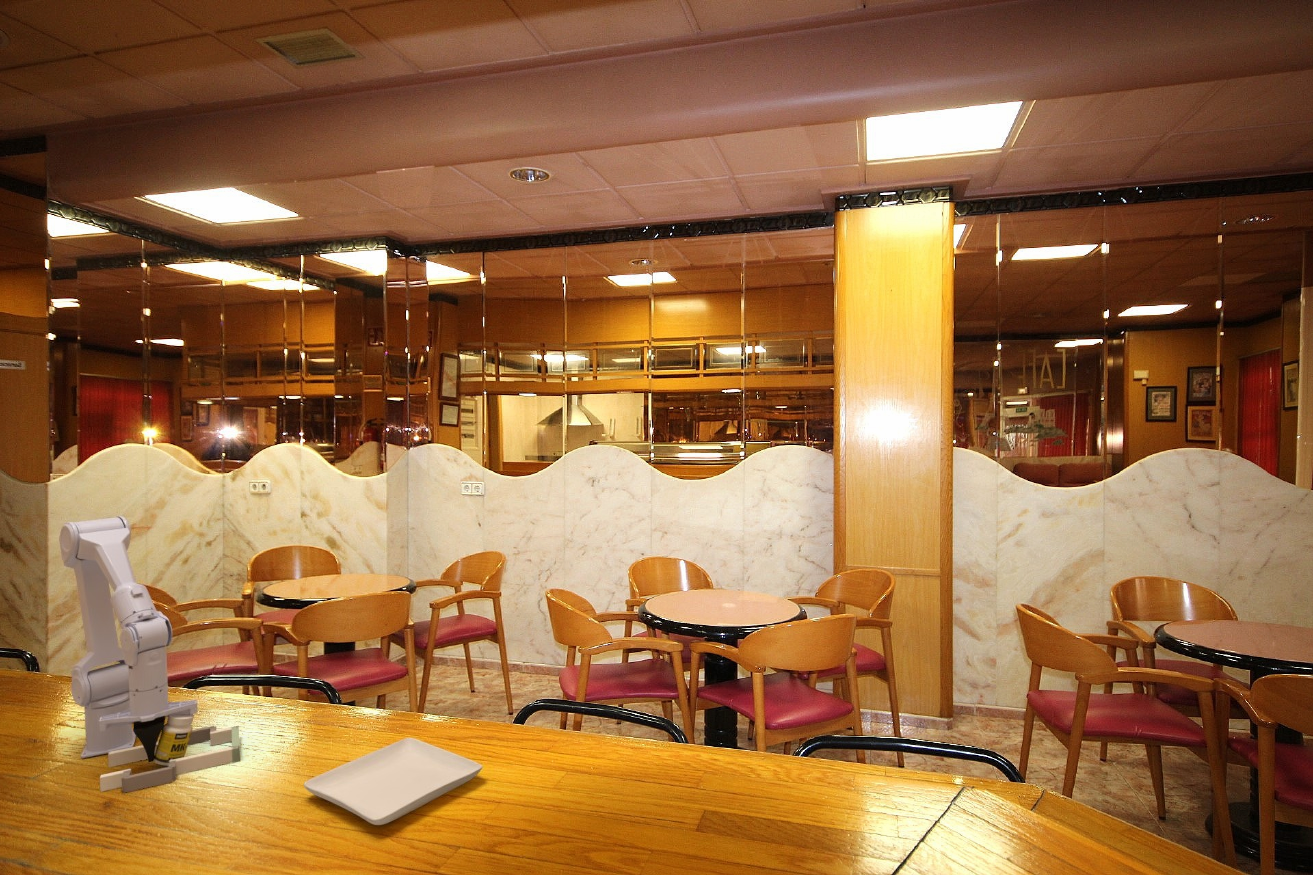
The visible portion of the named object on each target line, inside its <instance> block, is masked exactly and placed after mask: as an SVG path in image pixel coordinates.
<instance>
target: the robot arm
mask: <svg viewBox="0 0 1313 875" xmlns="http://www.w3.org/2000/svg"><path fill="white" fill-rule="evenodd" d="M59 533H60V534H59V538H58V540H59V547H60V553H61V559H62V560H61V561H63V566H64V567H66V568H70V569H73V572H74V575H75V579H76V580H75V581H76V587H77V592H78V598H79V606H80V612H81V617H82V618H81V619H82V626H83V631H84V639H85V645H86V651H87V653H86V654H85V655H84V656H83V657H81V659H79V661H78V662H77V663H75V665H74V666H73V667H72V668H71V685H70V690H71V695H72V699H73V701H74V702H75V704H76V705H78V706H79V707H81V708H83V707H84V709H83V710H84V728H85V729H84V730H85V746H84V747H83V750H82V752H81V754H80V758H81V759H85V758H90V757H95V756H101V755H104V754H106V755H107V754H109V752H111V751H116V750H121V749H126V748H131V747H135V746H134V745H135V742H136V738H137V739H138V740H139V741H140V743H141V744H142V745H143V747H144V749H145V751H146V754H147V757H148V759H147V761H148V763H152V762H153V763H154V753H155V747H156V743H157V742H158V741H159V739H160V735H161V732H162V729H163V726H164V725H165V724H166V719H168V717H169V715H183V714H188V713H190V714H193V715H195V714H197V713H198V710H199V709H198V700H197V699H192V700H186V701H185V700H184V701H169V688H168V687H169V685H168V684H169V683H168V682H169V681H168V660H167V659H168V658H167V647H169V646H170V645H171V644H172V641H173V628H172V627H173V626H172V625H171V622H170V620H169V618H168V617H167V616H166V615H164V614H163V613H162V611H160V610H157V608H156V606H155V604H154V602H153V600H152V597H151V595H150V593H149V590H148V588H147V587H146V586H145V585H143V584H141V583H137V581H136V578H135V577H136V576H135V574H134V571H133V568H132V565H131V561H130V558H129V555H128V550H129V548H130V543H131V539H132V538H131V537H132V529H131V525H130V523H129V521H128V519H126V517H124V516H122V515H118V516H116V517H107V518H99V519H90V520H81V521H67V522H65V523H64V524H63V525H62V527H61V529H60V532H59ZM110 587H111V588H110ZM111 589H112V591H113V593H111ZM111 594H112V595H111ZM115 616H116V619H117V621H118V623H119V626H120V628H121V632H120V637H119V639H120V646H121V647H120V646H119V640H118V633H117V626H116V620H115ZM115 662H117V663H115ZM111 663H115V664H111ZM109 664H111V665H109ZM103 665H108V666H103ZM101 666H103V667H101ZM96 667H100V668H96ZM94 668H96V669H94Z"/></svg>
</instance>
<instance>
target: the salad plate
mask: <svg viewBox="0 0 1313 875" xmlns="http://www.w3.org/2000/svg"><path fill="white" fill-rule="evenodd" d="M483 768H484V766H483V765H482V764H481V763H479V762H476V761H474V760H471V759H469V758H467V757H464V756H462V755H460V754H457V753H454V752H451V751H449V750H447V749H443V748H441V747H438V746H436V745H432V744H430V743H427V742H425V741H423V740H420V739H416V738H414V737H406V738H402V739H401V740H399V741H396V742H393V743H391V744H388V745H386V746H384V747H382V748H379V749H377V750H374V751H372V752H370V753H367V754H366V755H365V754H364V755H362V756H360V757H358V758H356V759H354V760H351V761H348V762H347V763H344V764H342V765H339V766H337V767H335V768H333V769H330V770H327V771H325V772H324V773H321V774H319V775H317V776H314V777H312V778H310V779H308V780H306V781H305V782H304V783H303V787H304V788H305V789H306V790H307V791H308V792H309V793H310V794H313V795H315V796H317V797H319V798H321V799H323V800H326V801H328V802H330V803H332V804H335V805H336V806H338V807H341V808H342V809H345V810H346V811H349V813H350V812H351V813H352V814H354V815H355V816H358V817H360V818H361V819H363V820H365V821H366V822H368V823H369V824H372V825H374V826H382V825H387V824H389V823H391V822H393V821H395V820H397V819H399V818H401V817H403V816H405V815H407V814H409V813H411V812H413V811H415V810H417V809H419V808H421V807H422V806H425V805H426V804H428V803H430V802H432V801H433V800H436V799H437V798H439V797H440V796H442V795H445V794H446V793H448V792H450V791H453V790H454V789H456V788H458V787H461V786H462V785H464V784H465V783H468V782H469V781H471V780H472V779H473V778H475V777H477V776H478V774H479V773H480V772H481V770H482V769H483Z"/></svg>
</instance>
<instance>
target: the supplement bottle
mask: <svg viewBox="0 0 1313 875" xmlns="http://www.w3.org/2000/svg"><path fill="white" fill-rule="evenodd" d="M194 717H195V714H190V713H188V714H183V715H169V717H167V720H166V722H165V724H164V726H163V729H162V731H161V733H160V735H159V738H158V741H157V742H158V745H157V749H156V752H155V755H154V761H153V763H155V764H158V765H161V766H165V767H169V761H170V760H173V759H178V758H183V757H186V752H187V749H188V746H189V745H188V742H189V739H190V736H191V732H192V730H193V725H192V724H193V721H194Z"/></svg>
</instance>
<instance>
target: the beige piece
mask: <svg viewBox="0 0 1313 875" xmlns="http://www.w3.org/2000/svg"><path fill="white" fill-rule="evenodd" d="M239 729H240V727H239V725H236V726H231V727H226V728H221V729H217V726H215V725H210V726H206V727H201V728H195V729H192V732H191V736H190V739H189V742H188V746H190V745H195V744H199V742H200V743H205V742H209V740H210V743H209V744H210V747H212V745H213V746H217V745H222V743H223V744H226V743H225V742H227V743H231V746H229V747H226V748H221V749H216V750H211V751H206V752H201V753H197V754H193V755H188V756H184V757H183V758H178V759H173V760H170V761H169V766H165V767H161V768H158V769H154V770H149V771H144V772H139V773H136V774H135V773H134V774H132V768H127V769H122V770H118V771H114V772H109V773H104V774H101V775H100V777H99V784H100V785H99V787H100V788H99V790H100V792H101V793H102V792H105V791H111V790H115V789H120V788H121V793H124V794H125V793H126V792H127V793H130V792H134V791H139V789H140V790H143V788H144V789H148V787H149V788H153V787H156V786H161V784H162V785H165V783H166V784H170V782H171V783H173V782H174V781H176V779H177V775H182V774H186V773H191V772H195V771H200V770H203V769H204V768H205V769H209V768H212V767H218V766H222V764H223V765H226V764H231V763H230V762H232V763H234V762H235V763H236V762H240V761H241V753H240V730H239ZM231 741H232V742H231ZM158 742H159V741H157V743H156V747H155V752H156V749H157V745H158ZM107 755H108V756H107V757H108V758H107V760H108V761H107V762H108V768H113V767H118V766H122V765H128V764H132V762H133V763H135V762H141V761H140V760H142V761H146V759H147V760H148V757H147V754H146V751H145V749H144V747H143V745H138V746H133V747H131V748H126V749H121V750H116V751H111V752H109V753H107ZM154 755H155V753H154ZM205 769H204V770H205ZM172 781H173V782H172ZM152 786H153V787H152Z"/></svg>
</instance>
